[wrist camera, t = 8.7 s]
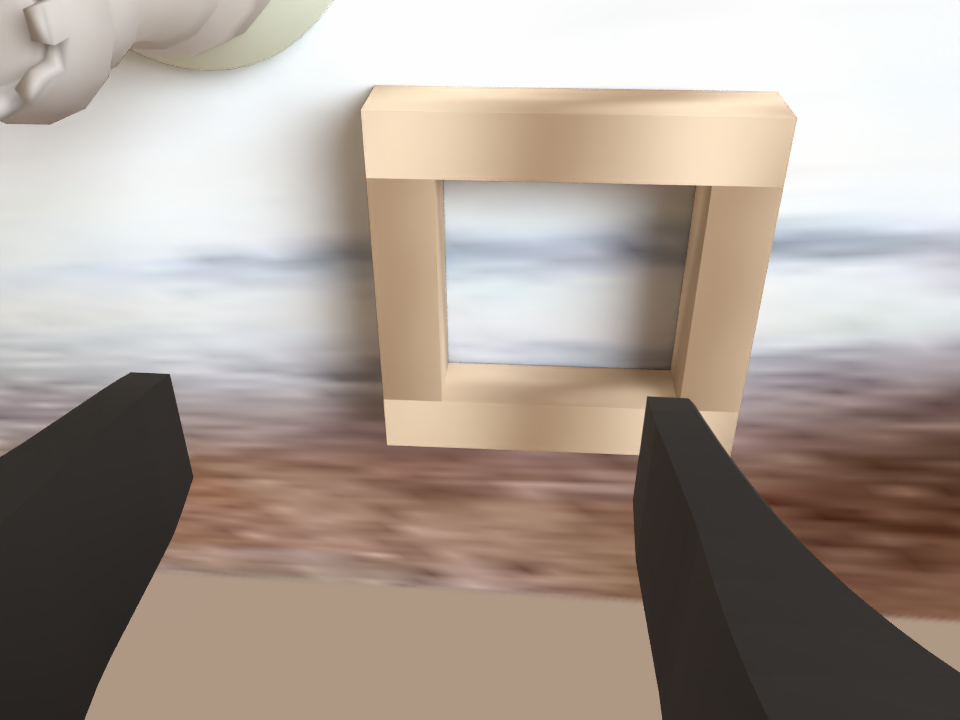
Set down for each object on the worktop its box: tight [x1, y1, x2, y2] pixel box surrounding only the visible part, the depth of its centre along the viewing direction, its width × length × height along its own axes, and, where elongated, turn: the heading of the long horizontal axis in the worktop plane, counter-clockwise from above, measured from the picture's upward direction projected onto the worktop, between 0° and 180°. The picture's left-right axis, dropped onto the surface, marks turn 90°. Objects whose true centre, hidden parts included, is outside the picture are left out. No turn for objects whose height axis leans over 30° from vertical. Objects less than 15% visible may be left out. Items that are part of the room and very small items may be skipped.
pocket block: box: [361, 85, 797, 456], centre depth 22 cm, size 9×9×2 cm
